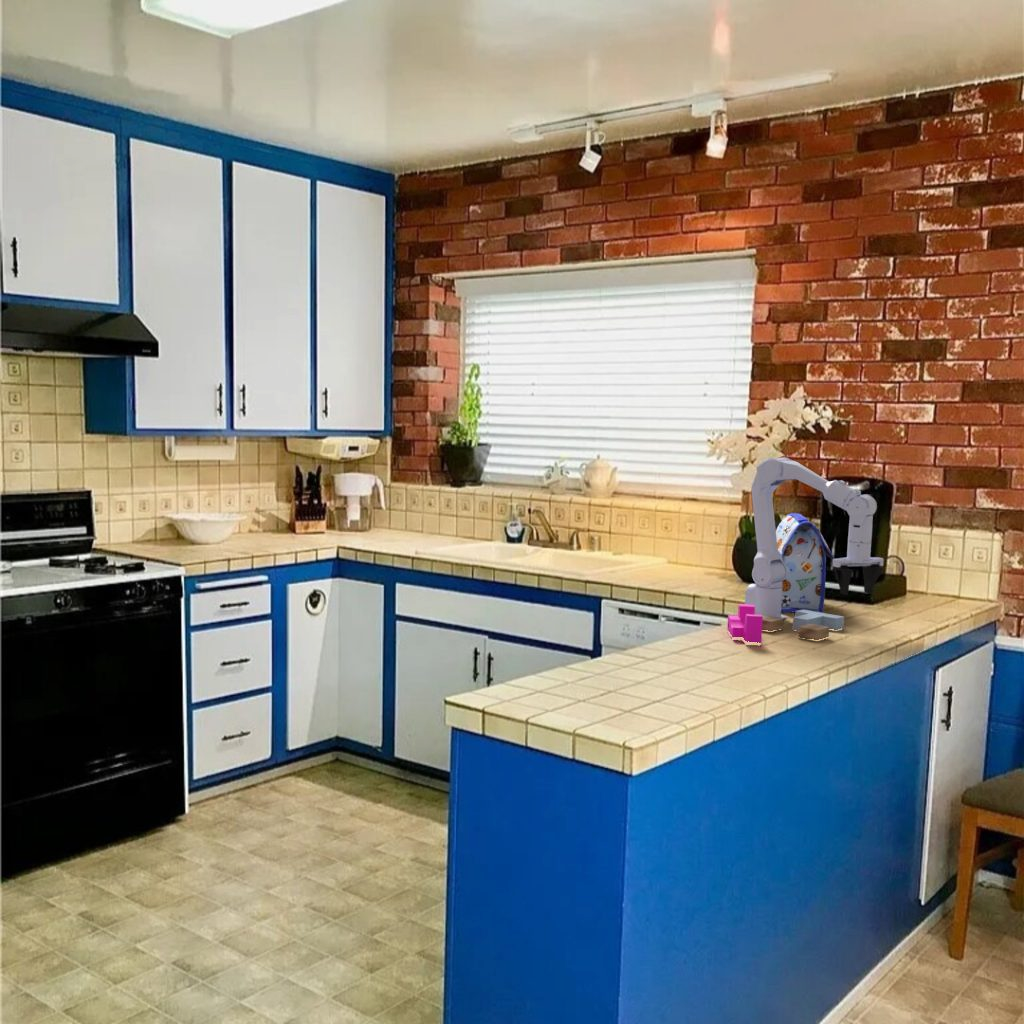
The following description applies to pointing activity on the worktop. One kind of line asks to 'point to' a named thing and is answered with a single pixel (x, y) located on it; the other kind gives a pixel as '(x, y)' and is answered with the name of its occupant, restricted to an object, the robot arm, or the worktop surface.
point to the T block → (817, 619)
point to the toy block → (746, 624)
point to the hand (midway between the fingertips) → (856, 593)
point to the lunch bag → (802, 564)
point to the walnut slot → (804, 631)
